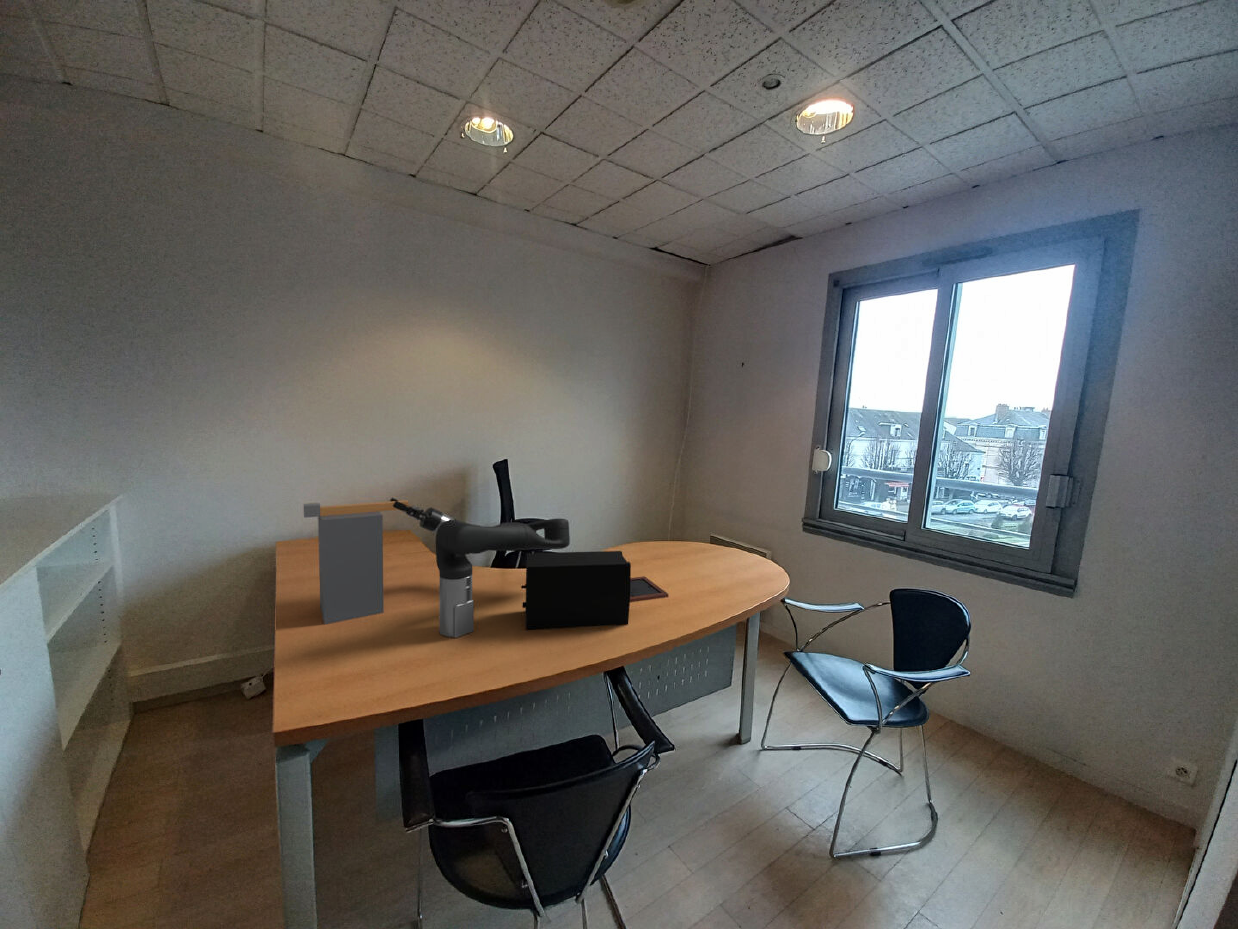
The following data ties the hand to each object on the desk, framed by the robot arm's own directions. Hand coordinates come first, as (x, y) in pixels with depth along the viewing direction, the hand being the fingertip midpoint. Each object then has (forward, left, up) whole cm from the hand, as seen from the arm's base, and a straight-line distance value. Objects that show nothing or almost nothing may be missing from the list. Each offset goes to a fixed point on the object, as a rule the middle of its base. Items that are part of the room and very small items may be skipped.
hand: (392, 502), depth 151 cm
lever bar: (+3, +10, -3) cm, 10 cm away
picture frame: (-53, -63, -35) cm, 90 cm away
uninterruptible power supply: (-54, -32, -35) cm, 72 cm away
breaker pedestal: (+3, +12, -35) cm, 37 cm away
